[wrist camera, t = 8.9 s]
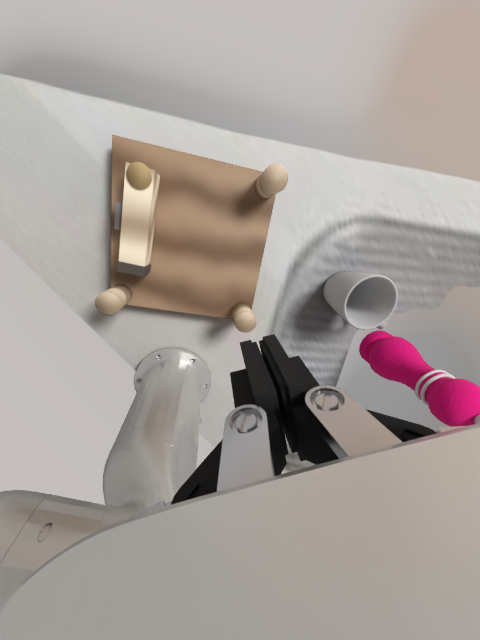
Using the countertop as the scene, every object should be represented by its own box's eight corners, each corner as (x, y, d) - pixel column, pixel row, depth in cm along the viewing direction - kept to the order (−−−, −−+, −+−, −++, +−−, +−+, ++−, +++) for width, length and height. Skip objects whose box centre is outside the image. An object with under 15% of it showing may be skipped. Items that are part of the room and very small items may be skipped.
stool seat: (119, 142, 30) (92, 114, 23) (274, 180, 33) (291, 166, 26) (116, 298, 36) (94, 313, 29) (246, 316, 40) (254, 334, 33)
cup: (345, 255, 38) (380, 261, 30) (376, 299, 41) (416, 315, 33) (307, 288, 39) (332, 303, 31) (341, 328, 42) (371, 351, 34)
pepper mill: (386, 364, 46) (505, 454, 28) (351, 361, 45) (451, 453, 26) (399, 329, 44) (539, 401, 25) (363, 326, 43) (481, 399, 24)
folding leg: (133, 165, 29) (124, 157, 25) (161, 173, 29) (155, 166, 26) (125, 267, 32) (116, 271, 29) (150, 272, 33) (143, 276, 30)
